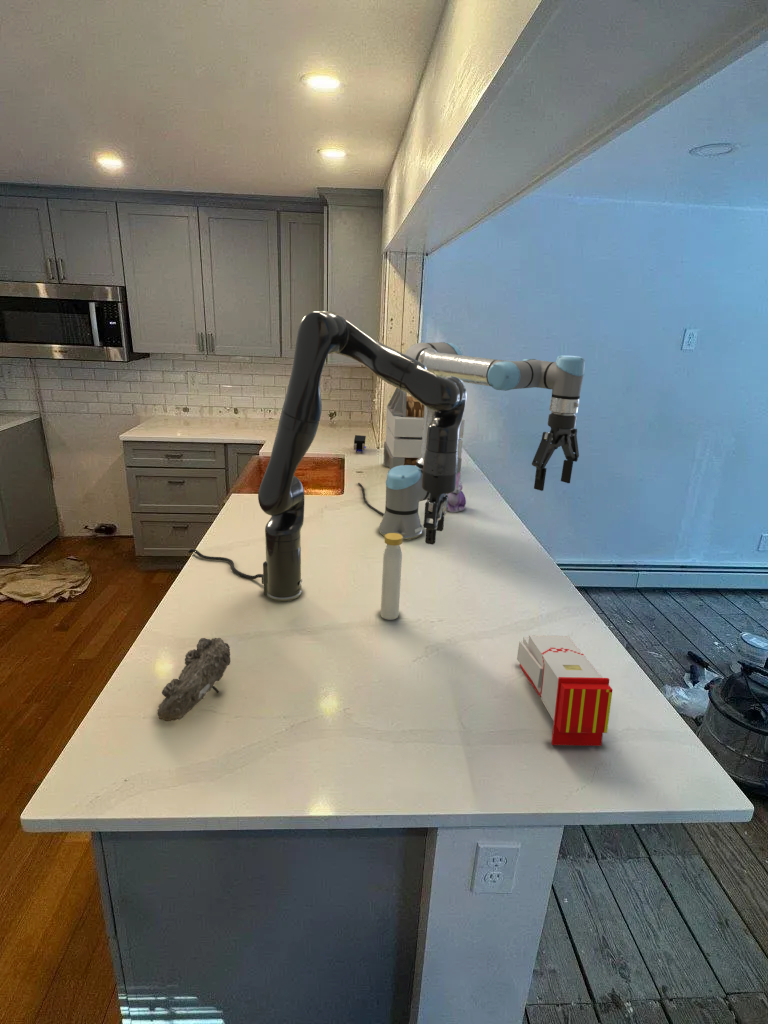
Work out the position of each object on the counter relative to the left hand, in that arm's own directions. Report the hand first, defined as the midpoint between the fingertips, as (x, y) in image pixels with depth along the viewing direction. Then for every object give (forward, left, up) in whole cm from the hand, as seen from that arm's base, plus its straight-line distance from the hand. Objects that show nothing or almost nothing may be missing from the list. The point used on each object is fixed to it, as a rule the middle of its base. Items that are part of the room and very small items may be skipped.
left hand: (434, 536), depth 131 cm
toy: (+31, -15, -26) cm, 43 cm away
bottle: (-11, +4, -26) cm, 28 cm away
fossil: (-38, -39, -26) cm, 60 cm away
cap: (-11, +4, -4) cm, 13 cm away
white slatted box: (-38, +139, -26) cm, 146 cm away
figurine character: (-80, +167, -26) cm, 187 cm away
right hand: (+24, +47, +2) cm, 53 cm away
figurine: (-12, +94, -26) cm, 98 cm away
